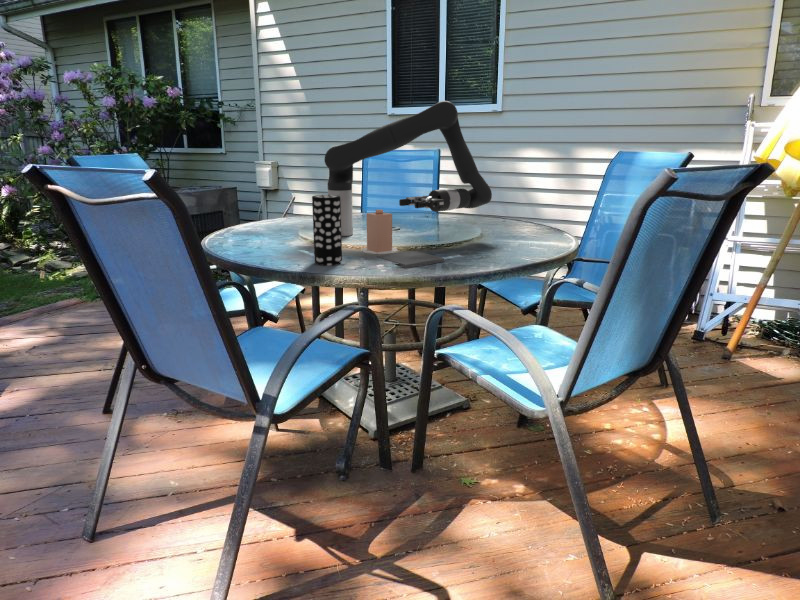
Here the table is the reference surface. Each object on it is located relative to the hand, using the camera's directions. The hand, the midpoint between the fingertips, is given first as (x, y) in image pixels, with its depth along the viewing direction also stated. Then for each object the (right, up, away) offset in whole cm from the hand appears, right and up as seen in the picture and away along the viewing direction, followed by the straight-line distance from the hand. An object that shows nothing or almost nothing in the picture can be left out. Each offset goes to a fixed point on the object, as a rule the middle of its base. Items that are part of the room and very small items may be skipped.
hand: (407, 203), depth 188 cm
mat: (+1, -20, -13) cm, 24 cm away
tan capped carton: (-9, -16, -2) cm, 18 cm away
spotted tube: (-24, -21, -17) cm, 36 cm away
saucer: (-9, -16, -2) cm, 19 cm away
